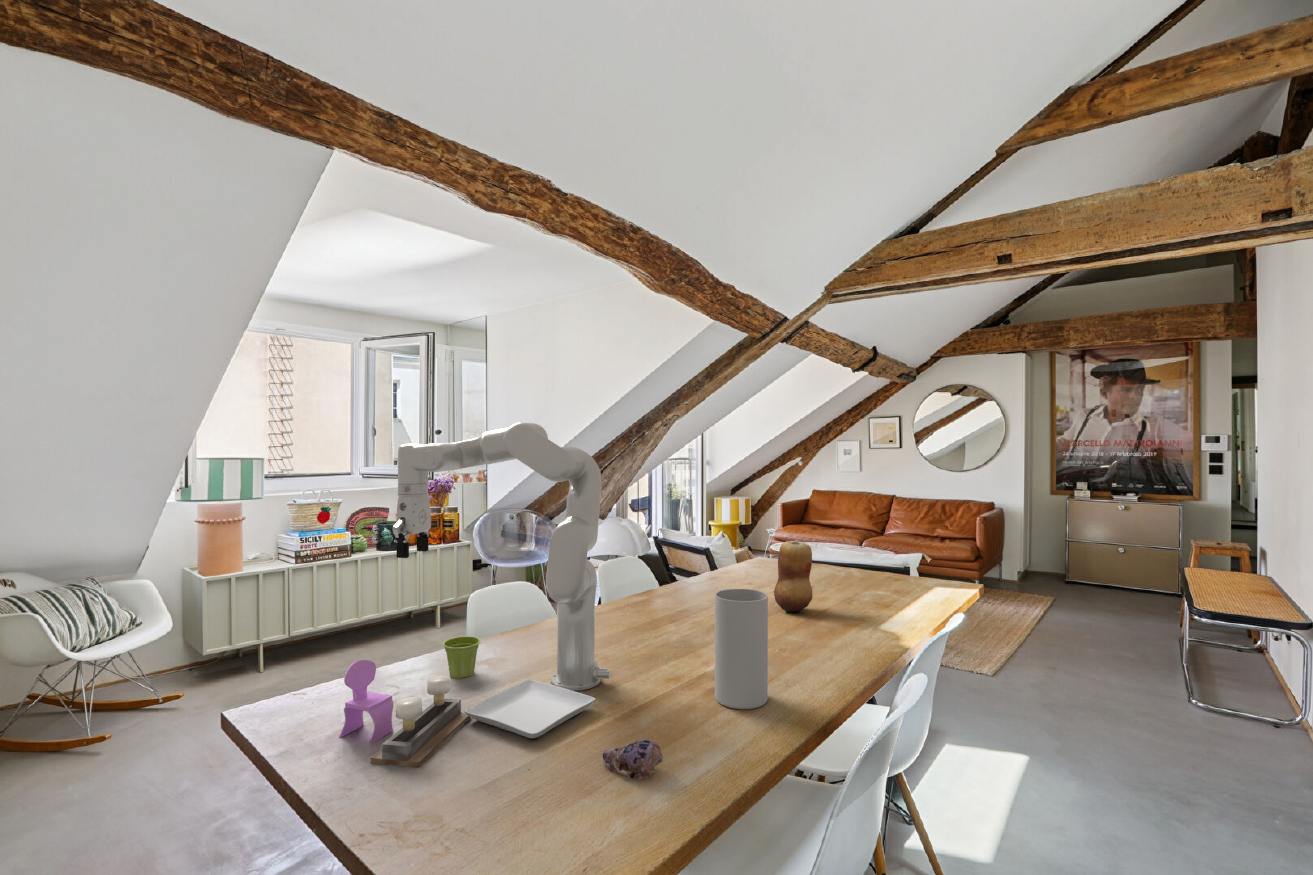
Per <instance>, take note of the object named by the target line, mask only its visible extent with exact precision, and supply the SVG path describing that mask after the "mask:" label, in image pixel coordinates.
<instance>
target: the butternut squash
mask: <svg viewBox="0 0 1313 875" xmlns="http://www.w3.org/2000/svg"><path fill="white" fill-rule="evenodd" d="M812 565H813V551H812V548H811V546H810V545H809V544H807V543H805V542H801V541H796V540H790V541H789V540H788V541H787V540H786V541H785V542H783V543H781V545H780V547H779V550H778V557H777V574H778V577H777V582H776V583H775V586H774V590H773V597H774V600H775V602H776V604H777V605H778V606H779V607H780V609H782V610H783V611H784V612H786V613H792V612H793V613H798V612H802V611H803V610H804V609H805V608H808V606H809V605H810V603H811V602H812V600H813V588H812V585H811V581H810V576H811V571H812Z"/></svg>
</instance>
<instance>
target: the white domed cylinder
mask: <svg viewBox="0 0 1313 875" xmlns="http://www.w3.org/2000/svg"><path fill="white" fill-rule="evenodd" d="M422 701H423V700H422V698H421V697H418V696H417V697H415V696H414V697H413V696H412V697H411V696H410V697H405V698H401V699H399V700H397V702H395V718H396V719H398V720H402V728H403V730H404V731H410V730H413V729H414V728H415V718H416V717H418V716H420V715H421V713H422V712H423V711H422V710H423V702H422Z"/></svg>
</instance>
